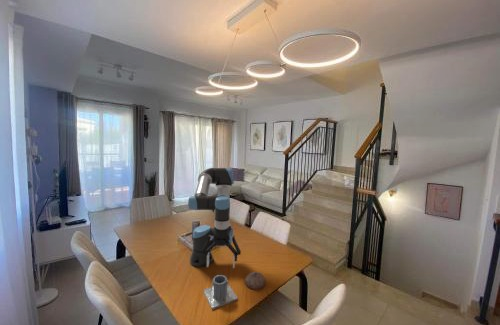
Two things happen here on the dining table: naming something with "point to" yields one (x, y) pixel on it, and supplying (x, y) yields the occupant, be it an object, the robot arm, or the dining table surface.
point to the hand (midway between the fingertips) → (220, 266)
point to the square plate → (217, 303)
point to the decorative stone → (255, 281)
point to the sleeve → (219, 286)
